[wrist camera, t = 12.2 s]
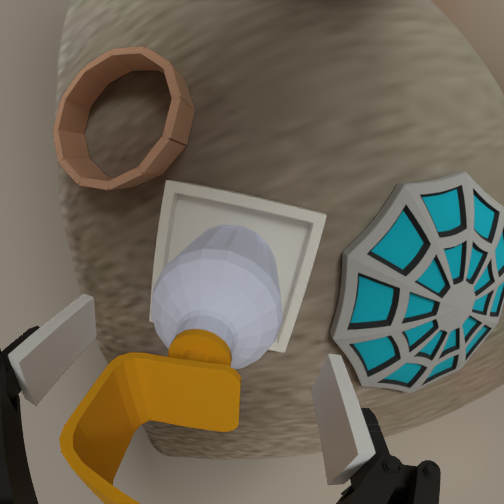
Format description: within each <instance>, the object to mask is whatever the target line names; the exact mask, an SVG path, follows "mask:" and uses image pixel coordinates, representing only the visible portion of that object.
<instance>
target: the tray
mask: <svg viewBox="0 0 504 504" xmlns="http://www.w3.org/2000/svg"><path fill="white" fill-rule="evenodd" d="M326 216H327V215H326V214H324V213H322V212H319V211H315V210H312V209H308V208H304V207H300V206H296V205H292V204H288V203H283V202H279V201H275V200H271V199H266V198H262V197H258V196H253V195H249V194H244V193H239V192H235V191H230V190H225V189H220V188H215V187H210V186H205V185H200V184H195V183H189V182H184V181H178V180H166V183H165V189H164V194H163V200H162V206H161V213H160V219H159V226H158V233H157V241H156V249H155V258H154V267H153V277H152V289H151V302H150V318H149V321H150V322H153V319H152V316H151V305H152V294H153V287H154V285H155V283H156V281H157V279H158V277H159V275H160V273H161V272H162V270H163V268H165V267H166V266H167V265H168V264H169V263H170V262H171V261H172V260H173V259H174V258H175V257H176V256H177V255H178V254H180V253H181V252H182V251H183V250H184V249H185V248H186V247H187V246H188V245H189V244H190V243H191V242H193V241H194V240H195V239H196V238H197V237H199V236H200V235H201V234H202V233H204V232H205V231H206V230H208V229H211V228H214V227H217V226H220V225H239V226H242V227H245V228H247V229H249V230H252V231H254V232H256V233H257V234H258V235H259V236H260V237H261V238H262V239H264V240H265V241H266V242H267V243H268V245H269V247H270V249H271V251H272V253H273V255H274V257H275V260H276V266H277V273H278V280H279V286H280V293H281V301H282V314H283V321H282V324H281V327H280V330H279V333H278V336H277V339H276V340H275V341H274V343H273V344H272V345H271V347H270V348H269V349H268V350H272V351H277V352H283V353H285V350H286V347H287V345H288V342H289V339H290V336H291V333H292V330H293V327H294V324H295V321H296V318H297V315H298V312H299V309H300V306H301V303H302V300H303V296H304V293H305V290H306V287H307V284H308V280H309V277H310V274H311V270H312V267H313V264H314V260H315V257H316V253H317V250H318V246H319V242H320V239H321V235H322V232H323V228H324V224H325V220H326Z"/></svg>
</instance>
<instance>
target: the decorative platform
mask: <svg viewBox="0 0 504 504" xmlns="http://www.w3.org/2000/svg"><path fill="white" fill-rule="evenodd" d="M503 304H504V207H503V206H502V205H500V204H499V203H498V202H497V201H495V200H494V199H493V198H491V197H490V196H489V195H488V194H487V193H486V192H485V191H484V190H483V189H482V188H481V187H480V186H479V185H478V184H477V183H476V182H475V181H474V180H473V179H472V178H471V177H470V176H469V175H468V174H467V173H466V172H455V173H453V174H450V175H447V176H444V177H440V178H437V179H433V180H428V181H422V182H413V183H402V184H397V185H396V187H395V188H394V190H393V192H392V193H391V195H390V196H389V198H388V200H387V201H386V203H385V204H384V206H383V207H382V209H381V210H380V211H379V213H378V214H377V215H376V217H375V218H374V219H373V221H372V222H371V223H370V224H369V225H368V226H367V228H366V229H365V230H364V231H363V232H362V233H361V234H360V235H359V236H358V237H357V238H356V239H355V240H354V241H353V242H352V243H351V244H350V245H349V246H348V247H347V248H346V249H345V250H344V251H343V252H342V276H341V286H340V294H339V299H338V304H337V308H336V312H335V316H334V319H333V323H332V326H331V329H330V334H331V336H332V339H333V340H334V341H335V342H336V344H337V345H338V346H339V347H340V349H341V350H342V351H343V352H344V354H345V355H346V356H347V358H348V359H349V361H350V362H351V364H352V366H353V368H354V370H355V372H356V374H357V376H358V379H359V381H360V384H361V386H367V387H379V388H389V389H394V390H399V391H403V392H407V393H412V392H414V391H416V390H418V389H420V388H422V387H424V386H426V385H428V384H430V383H432V382H434V381H436V380H438V379H440V378H442V377H445V376H447V375H449V374H451V373H453V372H456V371H458V370H460V369H461V368H462V367H463V365H464V364H465V363H466V362H467V360H468V359H469V358H470V357H471V356H472V354H473V353H474V352H475V351H476V349H477V348H478V347H479V346H480V344H481V343H482V342H483V341H484V340H485V338H486V337H487V336H488V335H489V334H490V332H491V331H492V330H493V329H494V327H495V326H496V325H497V324H498V321H499V318H500V314H501V311H502V307H503Z"/></svg>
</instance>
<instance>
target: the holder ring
mask: <svg viewBox="0 0 504 504" xmlns="http://www.w3.org/2000/svg"><path fill="white" fill-rule="evenodd" d="M135 70H159V71H160V72H162V73H163V74H164V75H165V76H166V80H167V83H168V87H169V90H170V94H171V97H172V100H171V104H170V108H169V111H168V115H167V119H166V123H165V127H164V132H163V136H162V137H161V138H160V139H159V141H158V142H157V143H156V144H155V146H154V147H153V148H152V149H151V151H150V152H149V153H148V154H147V156H146V157H145V158H144V160H143V161H142V162H141V164H140V165H139V166H138V167H136V168H134V169H132V170H130V171H128V172H126V173H124V174H122V175H120V176H118V177H109V176H106V175H105V174H104V173H103V172H102V171H101V170H100V169H99V168H98V167H97V166H96V165H95V164H94V163H93V162H92V161H91V160H90V157H89V153H88V148H87V144H86V139H85V135H84V134H85V129H86V125H87V120H88V116H89V112H90V109H91V106H92V105H93V103H94V102H95V101H96V99H97V98H98V97H99V95H100V94H101V93H102V91H103V90H104V89H105V87H106V86H107V85H108V84H109V83H111V82H113V81H114V80H116V79H118V78H120V77H122V76H123V75H125V74H127V73H129V72H131V71H135ZM62 97H63V98H61V101H60V104H59V108H58V112H57V116H56V120H55V125H54V130H53V131H54V132H53V135H54V141H55V147H56V152H57V157H58V162H59V163H60V165H61V166H62V168H63V169H64V170H65V171H66V172H67V173H68V174H69V175H70V177H71V178H72V179H73V180H74V181H75V182H76V183H77V184H78V185H80V186H86V187H92V188H98V189H104V190H114V189H123V188H132V187H135V186H137V185H140V184H142V183H144V182H147V181H149V180H151V179H153V178H156V177H158V176H161V175H162V174H164V173H165V171H166V170H167V169H168V168H169V166H170V165H171V164H172V163H173V162H174V160H175V159H176V158H177V157H178V156H179V154H180V153H181V152H182V151H183V150H184V148H185V147H186V146H185V145H187V142H188V138H189V134H190V130H191V126H192V122H193V118H194V114H195V111H194V110H195V108H194V105H193V102H192V99H191V96H190V92H189V89H188V86H187V83H186V81H185V79H184V78H183V77H182V76H181V75H180V73H179V72H178V71H177V70H176V69H175V67H174V66H173V65H172V64H171V63H170V62H169V61H167V60H166V59H164V58H163V57H161V56H160V55H158V54H157V53H155V52H153V51H152V50H150V49H149V48H147V47H144V46H142V47H127V48H116V49H113V50H110V51H108V52H106V53H105V54H103V55H102V56H100V57H98V58H97V59H95V60H94V61H92V62H90V63H89V64H87V65H86V66H84V67H83V69H81V70H80V72H79V73H78V74H77V76H76V77H75V79H74V80H73V81H72V83H71V84H70V86H69V87H68V88H67V90H66V91H65V93H64V94H63V96H62Z"/></svg>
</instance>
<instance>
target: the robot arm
mask: <svg viewBox="0 0 504 504" xmlns="http://www.w3.org/2000/svg"><path fill="white" fill-rule="evenodd" d="M96 337H97V335H96V323H95V307H94V297H92V296H89V295H87V294H82V295H81V296H80V297H78V298H77V299H76V300H75V301H73V302H72V303H71V304H69V305H68V306H67V307H65V308H64V309H63V310H61V311H60V312H59V313H58V314H56V315H55V316H54V317H52V318H51V319H50V320H49V321H48V322H46V323H45V324H44V325H43V326H41V327H39V326H36V327H33V328H30V329H28V330H27V331H26V332H25V333H23V335H21V336H20V337H19V338H18V339H16V340H15V341H14V342H13V343H11V344H10V345H9V346H8V347H7V348H5V349H4V350H3V351H2V352H1V350H0V504H38V501H37V497H36V494H35V491H34V487H33V483H32V479H31V475H30V471H29V467H28V462H27V457H26V451H25V445H24V438H23V431H22V422H21V411H20V398H19V395H18V394H19V393H20V392H21V390H22V393H23V395H24V397H25V399H26V400H28V401H30V402H31V403H32V404H34V405H35V406H37V404H38V403H39V402H40V401H41V400H42V398H43V397H44V396H45V395H46V393H47V392H48V391H49V390H50V389H51V388H52V386H53V385H54V384H55V383H56V382H57V381H58V379H59V378H60V377H61V376H62V375H63V374H64V372H65V371H66V370H67V369H68V368H69V367H70V366H71V364H72V363H73V362H74V361H75V360H76V359H77V358H78V357H79V355H80V354H81V353H82V352H83V351H84V350H85V349H86V348H87V346H88V345H89V344H90V343H91V342H92V341H93V340H94V339H95V338H96ZM311 390H312V395H313V401H314V406H315V412H316V417H317V423H318V428H319V434H320V440H321V446H322V452H323V457H324V464H325V470H326V476H327V483H328V485H338V484H344V483H345V482H347V481H348V480H349V479H350V480H351V485H350V487H348V488H347V489H346V490H345V491H343V492H342V493H341V494H342V497H341V498H340V499H339V501H338V502H337V503H336V504H439V493H440V468H439V467H438V465H437V464H436V463H435V462H433V461H430V460H429V461H428V460H426V461H423V462H421V463H420V464H419V465H418V466H409V465H403V464H402V463H401V462H400V460H399V459H398V458H396V457H395V456H391V455H390V453H389V451H388V448H387V445H386V443H385V440H384V437H383V434H382V432H381V429H380V426H379V425H378V421H377V419H376V416H375V415H374V413H373V412H372V411H371V410H370V409H369V408H360V405H359V402H358V400H357V397H356V394H355V391H354V389H353V386H352V383H351V380H350V378H349V375H348V372H347V370H346V367H345V364H344V362H343V359H342V357H341V355H335V354H328V355H327V357H326V360H325V362H324V364H323V366H322V368H321V370H320V373H319V375H318V377H317V379H316V381H315V383H314V385H313V387H312V389H311Z"/></svg>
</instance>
